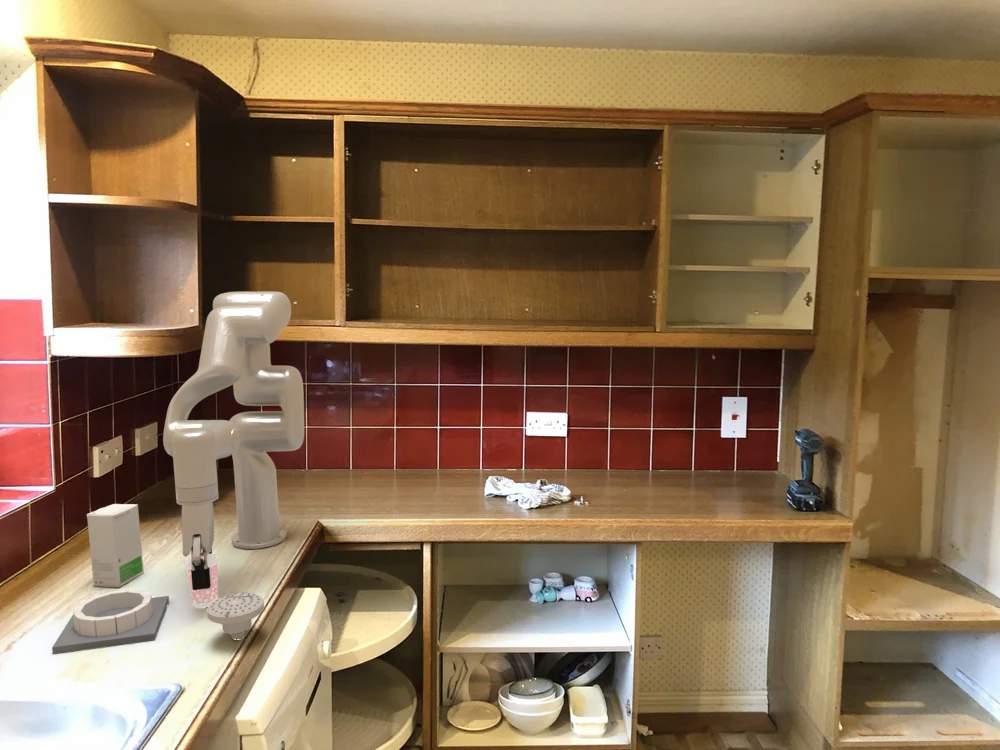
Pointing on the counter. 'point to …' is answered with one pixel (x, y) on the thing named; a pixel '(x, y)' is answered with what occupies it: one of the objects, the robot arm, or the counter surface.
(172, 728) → the counter surface
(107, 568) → the skincare box
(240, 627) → the showerhead
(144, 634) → the ring holder
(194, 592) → the beverage cup
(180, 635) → the counter surface
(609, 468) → the counter surface
